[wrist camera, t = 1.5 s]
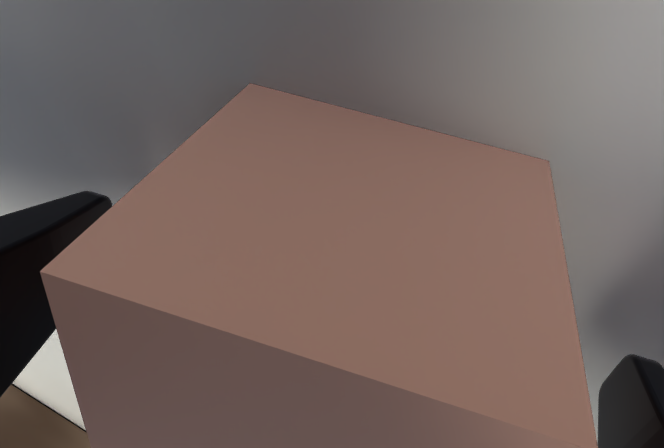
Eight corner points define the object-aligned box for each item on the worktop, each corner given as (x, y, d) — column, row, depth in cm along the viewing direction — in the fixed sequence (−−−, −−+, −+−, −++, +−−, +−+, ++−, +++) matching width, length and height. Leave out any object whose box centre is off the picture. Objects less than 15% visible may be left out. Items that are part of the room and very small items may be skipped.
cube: (548, 158, 8) (599, 452, 4) (453, 354, 11) (429, 628, 7) (251, 81, 8) (40, 271, 5) (240, 287, 12) (108, 506, 8)
